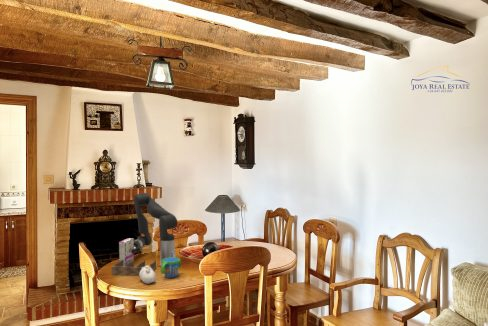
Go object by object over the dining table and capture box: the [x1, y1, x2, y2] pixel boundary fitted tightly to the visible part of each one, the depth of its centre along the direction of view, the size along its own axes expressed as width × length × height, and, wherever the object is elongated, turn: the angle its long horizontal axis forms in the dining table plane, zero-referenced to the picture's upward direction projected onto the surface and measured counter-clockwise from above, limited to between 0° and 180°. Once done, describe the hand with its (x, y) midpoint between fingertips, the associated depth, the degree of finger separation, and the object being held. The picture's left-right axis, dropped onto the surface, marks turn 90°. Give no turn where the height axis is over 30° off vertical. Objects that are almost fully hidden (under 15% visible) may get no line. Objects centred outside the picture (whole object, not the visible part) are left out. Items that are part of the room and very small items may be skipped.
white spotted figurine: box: [138, 264, 157, 284], centre depth 212 cm, size 10×8×15 cm
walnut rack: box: [111, 259, 157, 277], centre depth 230 cm, size 23×15×5 cm, turn 84°
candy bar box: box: [118, 237, 135, 266], centre depth 245 cm, size 11×5×16 cm, turn 168°
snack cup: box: [160, 256, 182, 279], centre depth 221 cm, size 16×10×10 cm
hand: (125, 251), depth 244 cm, fingers open, 8 cm apart
